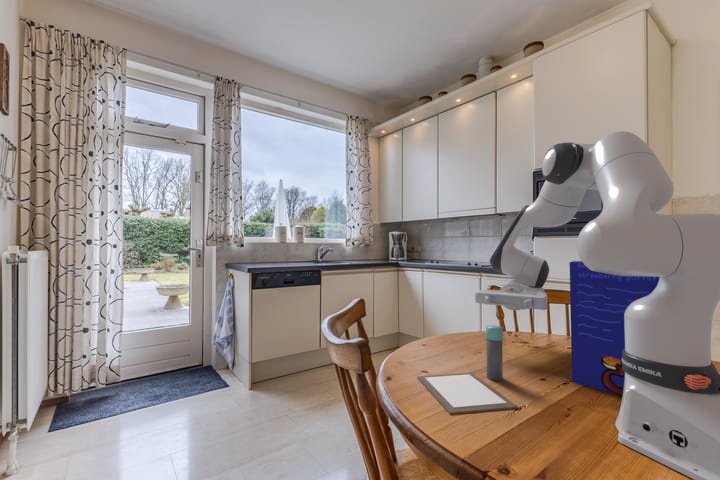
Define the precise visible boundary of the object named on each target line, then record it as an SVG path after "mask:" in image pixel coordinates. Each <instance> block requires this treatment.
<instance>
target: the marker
mask: <svg viewBox="0 0 720 480" xmlns="http://www.w3.org/2000/svg"><path fill="white" fill-rule="evenodd" d="M503 329H504V328H503V327H502V326H501V325H493V324H488V325H485V340H486V341H485V342H486V344H485V345H486V354H485V355H486V378H487V379H488V380H490V381H494V382H500V381H501V382H502V381H503V380H504V377H503V376H504V374H503V372H504V370H503V369H504V368H503V340H504V337H503V335H504V334H503Z"/></svg>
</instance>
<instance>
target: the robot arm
mask: <svg viewBox="0 0 720 480" xmlns="http://www.w3.org/2000/svg"><path fill="white" fill-rule="evenodd" d="M541 175H542V176H543V178H544V180H545V181H544V183H543V185H542V187H541V188H540V192H539V194H538V196H537V198H536V199H535V200H534V202H532V203H531V204H527V205H524V206H523V207H522V208H521V209H520V211H518V212H517V214H516V216H515V217H514V219H513V220H512V222H511V224H510V226H509V227H508V229H507V231H506V232H505V233H504V234H503V237H502V239H501V240H500V242H499V244H497V246H496V248H495V249H494V250H493V251H492V253H491V255H490V257H489V263H490V266H491V268H492V270H493V271H494V272H497V273H501V274H504V275H507V276H508V277H511V278H513V280H510V281H509V282H506V283H505V284H504V285H502V286H501V287H500V289H499V290H496V289H480V290H477V291H475V293H474V301H475V303H477V304H482V305H487V306H488V305H490V306H491V305H493V306H501V307H502V306H503V307H504V308H505V309H507V310H510V311H520V310H541V311H545V310H548V294H547V292H546V291H545V288H543V287H544V286H545V284H546V282H547V280H548V277H549V274H550V267H549V263H548V262H547V260H546V259H544V258H541V257H539V256H537V255H534V254H531V253H528V252H526V251H523V250H521V249H518V248H516V247H515V245H514V244H515V243H516V241H517V240H518V238H519V237H520V235H521V233H522V232H523V231H524V230H526V229H528V228H554V227H555V228H556V227H560V226H561V227H562V226H563V225H566V224H567V223H569V222H570V221H572V220H573V218H574V217H575V215H576V214H577V212H578V210H579V209H580V206H581V205H582V202H583V199H584V197H585V193H586V192H587V190H592V191H598V192H599V196H600V199H601V204H602V210H601V212H600V213H599V214H598V216H597V217H595V218H594V219H592V220H590V221H588V222H587V223H586V224H585V225H584V226H583V228H582V229H581V230H580V231H579V233H578V234H579V235H578V237H577V240H576V251H577V254H578V257H579V260H580V261H582V262H583V263H584V265H585V266H586V267H587V268H589V269H590V270H592V271H596V272H601V273H606V274H612V275H618V276H646V277H659V282H658V285H657V286H656V288H655V289H654V291H653V292H652V293H650V294H649V295H648V296H645V297H643V298H640V299H638V300H635V301H634V302H632V303H631V304H630V305H629V306H628V307H627V309H626V311H625V313H624V330H625V349H623V350H622V369H623V370H624V372H625V379H624V390H623V397H622V396H621V404H620V407H619V412H618V414H617V415H618V416H617V417H616V420H615V422H614V423H615V427H616V429H617V430H618V433H617V434H618V435H617V441H618V442H619V443H620V444H622V445H624V446H625V447H628V448H630V449H632V450H634V451H636V452H638V453H640V454H643V455H645V456H646V457H649V458H650V459H652V460H655V461H656V462H658V463H660V464H662V465H664V466H666V467H669V468H670V469H672V470H674V471H676V472H679V473H681V474H683V475H685V476H687V477H689V478H690V479H692V480H720V373H719V371H718V369H717V367H716V366H715V364H714V363H713V362H712V357H711V355H712V351H711V349H712V348H711V346H712V345H711V344H712V342H711V341H712V324H713V317H714V314H715V311H716V308H717V306H718V304H719V301H720V214H714V213H688V214H687V213H686V214H682V213H681V214H678V213H677V214H661V213H658V212H659V211H661V210H663V208H665V207H666V206H667V205H668V204H669V203H670V201H671V199H672V198H673V194H674V191H675V190H674V187H675V186H674V182H673V181H672V179H671V177H670V176H669V174H668V172H667V171H666V170H665V168H664V166H663V165H662V163H661V161H660V160H659V158H658V156H657V155H656V153H655V152H654V151H653V150H652V148H651V147H650V146H649V145H648V144H647V143H646V141H644V140H643V139H642V138H640V137H639V136H638V135H637V134H635V133H633V132H630V131H625V130H624V131H615V132H611V133H608V134H607V135H605V136H603V137H601V138H600V139H599V140H598V141H596V143H595V144H594V143H574V142H561V143H557V144H553V145H552V146H551V147H550V148H549V149H548V150H547V151H546V153H545V154H544V157H543V159H542V163H541Z"/></svg>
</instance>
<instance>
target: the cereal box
mask: <svg viewBox="0 0 720 480" xmlns="http://www.w3.org/2000/svg"><path fill="white" fill-rule="evenodd" d="M658 282H659V277H646V276H618V275H612V274H606V273H601V272H596V271H592V270H590V269H589V268H587V267H586V266H585V265H584V263H583V262H582V261H581V260H572V261H569V296H570V297H569V298H570V299H569V303H570V305H569V307H570V348H571V350H570V351H571V352H570V356H571V383H573V384H574V383H575V384H578V385H581V386H583V387H588V388H591V389H594V390H598V391H601V392H605V393H608V394H612V395H615V396H618V397H621V398H622V397H623V390H624V379H625V372H624V370H623V369H622V350H623V349H625V330H624V313H625V311H626V309H627V307H628V306H629V305H630V304H631V303H632V302H634V301H635V300H638V299H640V298H643V297H645V296H648V295H649V294H650V293H652V292H653V291H654V289H655V288H656V286H657V285H658Z"/></svg>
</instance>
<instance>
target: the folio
mask: <svg viewBox="0 0 720 480" xmlns="http://www.w3.org/2000/svg"><path fill="white" fill-rule="evenodd" d="M416 379H417V380H418V381H419V382H420V383H421V384H422V385H423V386H424V387H425V388H426V390H427V391H428V392H429V393H430V394H431V396H433V397H434V399H435V400H436V401H437V402H439V404H440V405H441V406H442V407H443V408H444V409H445V411H446V412H447V413H448V414H449V415H458V414H459V415H460V414H470V413H479V412H480V413H481V412H491V411H493V412H494V411H501V410H502V411H503V410H510V409H513V410H514V409H519V406H518V405H517V404H515V403H514V402H513V401H511V400H510V398H507V397H506V396H504V395H503V394H501V393H500V392H499V391H497V389H495V388H493V387H492V386H491V385H489V384H488V383H486V382H485V381H484V380H482V379H481V378H479V377H478V376H477V375H475V373H473V372H463V373H462V372H461V373H448V374H447V373H446V374H434V375H433V374H432V375H421V376H419V375H417V378H416Z"/></svg>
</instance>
